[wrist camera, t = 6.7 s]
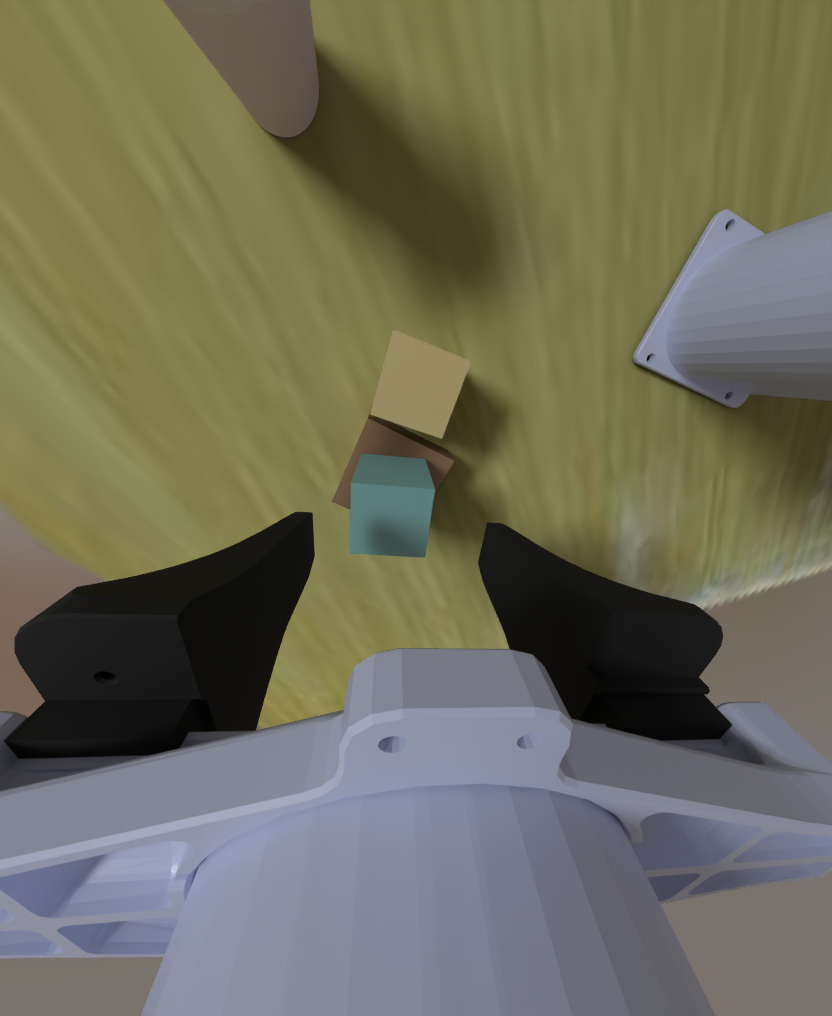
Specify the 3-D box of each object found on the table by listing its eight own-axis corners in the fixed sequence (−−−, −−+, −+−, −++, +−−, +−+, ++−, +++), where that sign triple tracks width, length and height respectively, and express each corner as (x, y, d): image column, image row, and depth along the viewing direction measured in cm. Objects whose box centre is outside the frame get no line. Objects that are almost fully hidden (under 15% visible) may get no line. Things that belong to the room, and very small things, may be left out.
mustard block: (452, 362, 19) (471, 361, 15) (430, 423, 21) (442, 439, 16) (392, 338, 18) (393, 329, 14) (374, 403, 20) (369, 414, 15)
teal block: (418, 514, 21) (425, 557, 16) (359, 510, 20) (349, 553, 16) (425, 459, 19) (435, 489, 14) (361, 453, 18) (350, 482, 14)
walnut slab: (446, 449, 22) (454, 460, 19) (410, 515, 24) (412, 534, 21) (370, 411, 20) (367, 418, 18) (339, 485, 22) (331, 501, 20)
